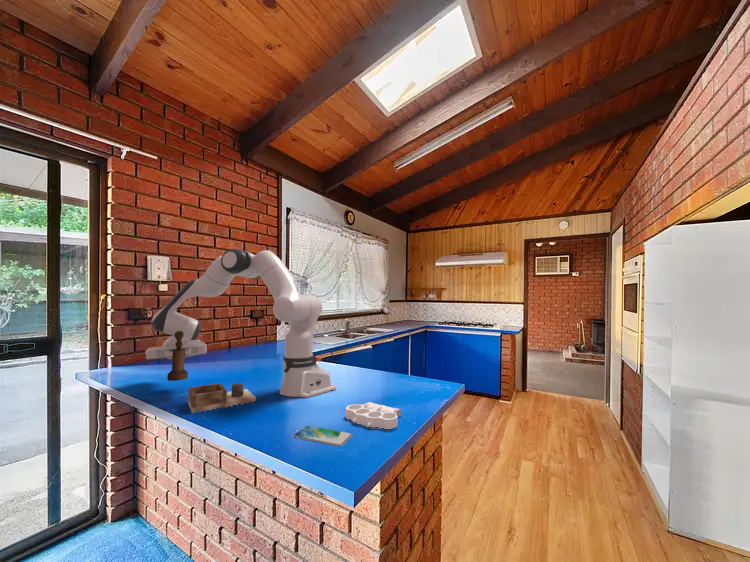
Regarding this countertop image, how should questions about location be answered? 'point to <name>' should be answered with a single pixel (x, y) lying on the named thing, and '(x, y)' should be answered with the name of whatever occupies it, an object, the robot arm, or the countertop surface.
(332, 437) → the smartphone
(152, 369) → the countertop surface
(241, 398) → the holder stand
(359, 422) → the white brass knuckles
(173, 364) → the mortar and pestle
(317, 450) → the countertop surface
